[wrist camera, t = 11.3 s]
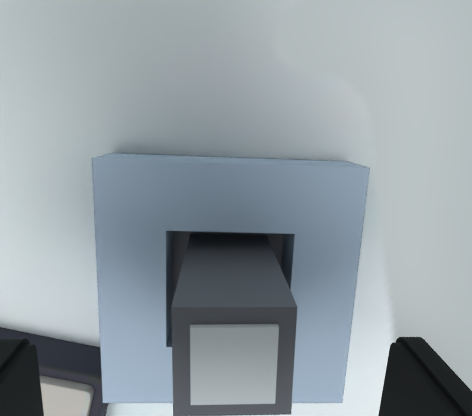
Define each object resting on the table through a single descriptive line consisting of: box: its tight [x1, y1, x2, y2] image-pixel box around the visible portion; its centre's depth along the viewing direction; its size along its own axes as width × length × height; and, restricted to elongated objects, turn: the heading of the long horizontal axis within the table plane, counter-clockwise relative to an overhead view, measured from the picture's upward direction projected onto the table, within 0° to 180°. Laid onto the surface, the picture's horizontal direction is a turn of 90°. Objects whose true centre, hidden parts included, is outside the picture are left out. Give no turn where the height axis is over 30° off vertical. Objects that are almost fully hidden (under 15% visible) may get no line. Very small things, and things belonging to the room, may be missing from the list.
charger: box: [171, 234, 297, 416], centre depth 16 cm, size 4×4×8 cm
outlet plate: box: [92, 153, 370, 403], centre depth 19 cm, size 12×12×3 cm
